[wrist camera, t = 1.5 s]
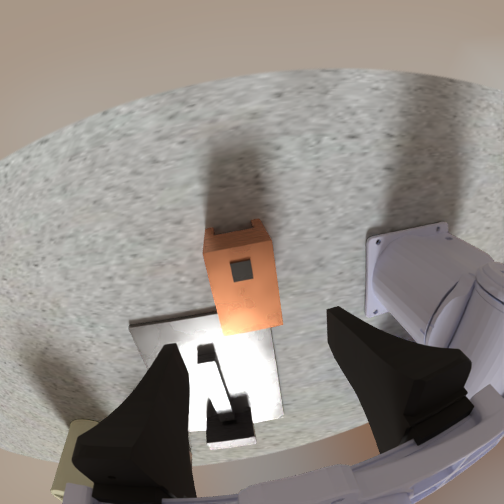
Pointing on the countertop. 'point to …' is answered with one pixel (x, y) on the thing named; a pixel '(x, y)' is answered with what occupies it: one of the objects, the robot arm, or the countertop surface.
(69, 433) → the can
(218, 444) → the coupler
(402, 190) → the countertop surface
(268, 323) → the orange block
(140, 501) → the robot arm
